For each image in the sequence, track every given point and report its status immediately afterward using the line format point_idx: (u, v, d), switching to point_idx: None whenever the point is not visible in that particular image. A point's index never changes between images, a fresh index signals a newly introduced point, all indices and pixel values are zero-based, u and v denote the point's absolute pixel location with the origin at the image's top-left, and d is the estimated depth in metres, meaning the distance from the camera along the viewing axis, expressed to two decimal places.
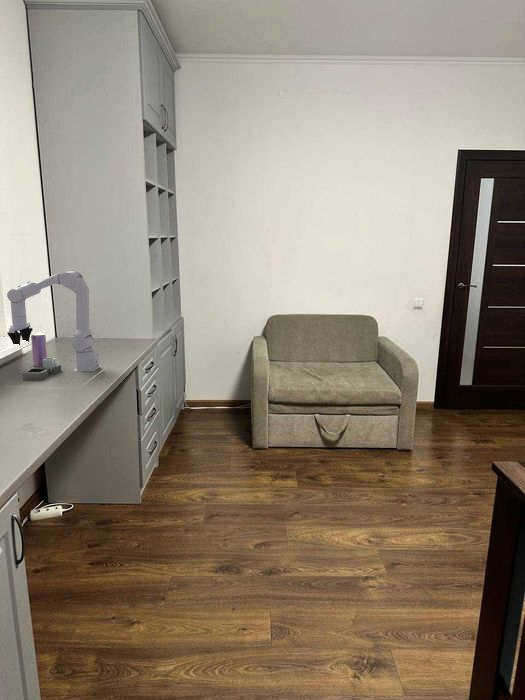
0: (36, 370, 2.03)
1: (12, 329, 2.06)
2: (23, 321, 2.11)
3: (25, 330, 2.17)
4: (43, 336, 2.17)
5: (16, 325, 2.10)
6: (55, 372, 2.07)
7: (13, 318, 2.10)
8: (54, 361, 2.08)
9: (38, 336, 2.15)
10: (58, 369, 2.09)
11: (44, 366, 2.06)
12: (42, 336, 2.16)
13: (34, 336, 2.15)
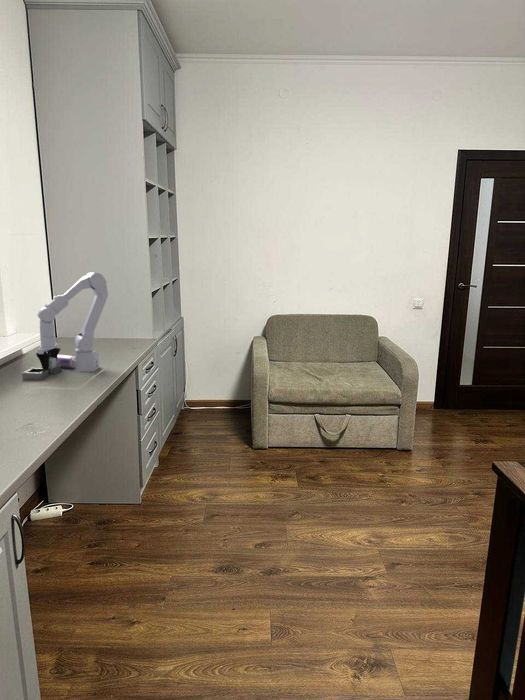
0: (36, 370, 2.03)
1: (41, 350, 1.99)
2: (52, 342, 2.05)
3: (53, 350, 2.10)
4: None
5: (45, 346, 2.03)
6: (55, 372, 2.07)
7: (42, 338, 2.03)
8: (54, 361, 2.08)
9: (71, 367, 2.15)
10: (58, 369, 2.09)
11: None
12: (72, 368, 2.16)
13: (70, 363, 2.14)
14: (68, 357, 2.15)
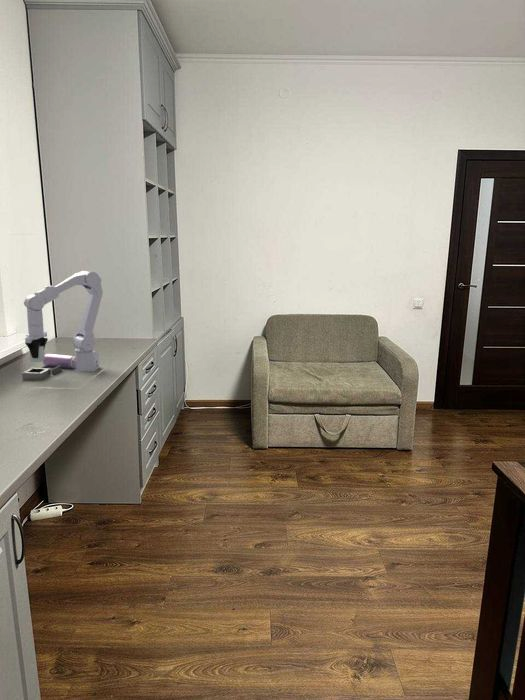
0: (36, 370, 2.03)
1: (28, 339, 1.92)
2: (40, 330, 1.97)
3: (40, 340, 2.02)
4: None
5: (32, 334, 1.96)
6: (55, 372, 2.07)
7: (29, 327, 1.96)
8: (41, 349, 2.00)
9: (71, 367, 2.15)
10: (58, 369, 2.09)
11: None
12: (72, 368, 2.16)
13: (70, 363, 2.14)
14: (68, 357, 2.15)
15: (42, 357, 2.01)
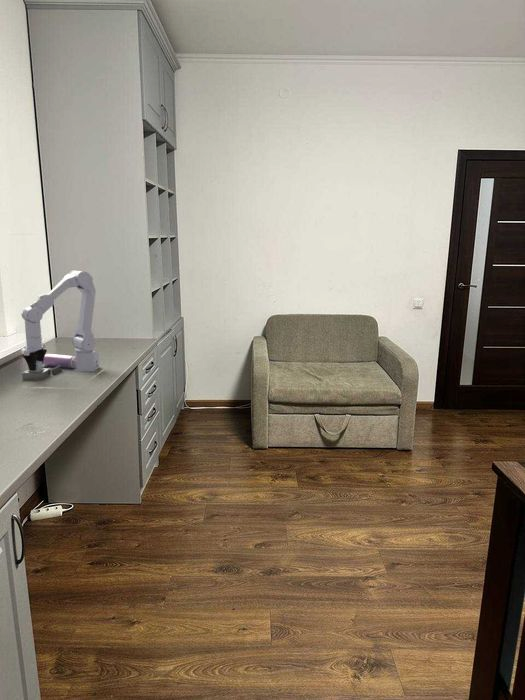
0: None
1: (27, 351, 1.91)
2: (39, 342, 1.97)
3: (39, 352, 2.02)
4: None
5: (31, 347, 1.95)
6: (55, 372, 2.07)
7: (27, 339, 1.95)
8: (40, 365, 2.00)
9: (71, 367, 2.15)
10: (58, 369, 2.09)
11: (29, 370, 1.98)
12: (72, 368, 2.16)
13: (70, 363, 2.14)
14: (68, 357, 2.15)
15: None
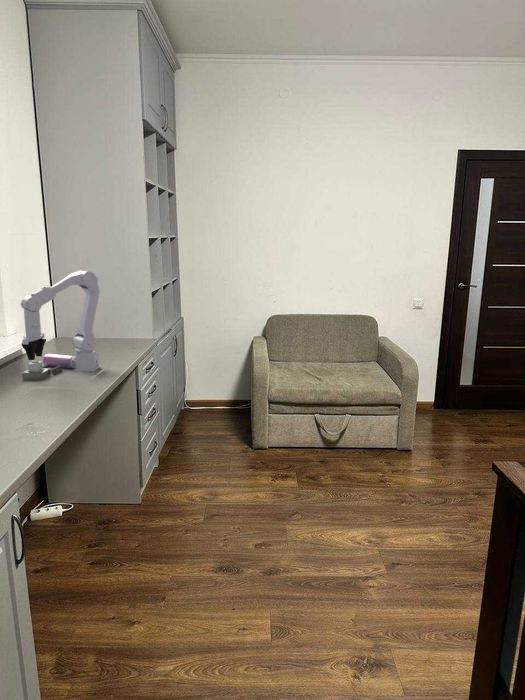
0: None
1: (26, 340, 1.90)
2: (38, 332, 1.96)
3: (38, 341, 2.01)
4: None
5: (30, 336, 1.94)
6: (55, 372, 2.07)
7: (27, 328, 1.94)
8: (40, 365, 2.00)
9: (71, 367, 2.15)
10: (58, 369, 2.09)
11: (29, 370, 1.98)
12: (72, 368, 2.16)
13: (70, 363, 2.14)
14: (68, 357, 2.15)
15: None
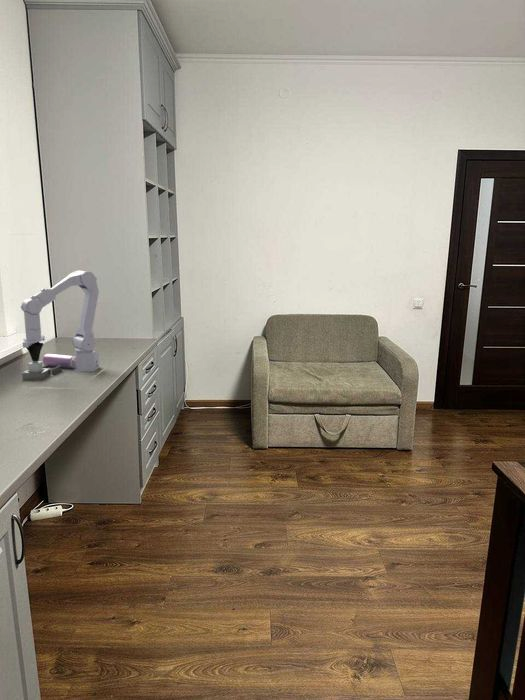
0: None
1: (26, 343, 1.91)
2: (38, 334, 1.96)
3: None
4: None
5: (30, 339, 1.95)
6: (55, 372, 2.07)
7: (27, 331, 1.94)
8: (40, 365, 2.00)
9: (71, 367, 2.15)
10: (58, 369, 2.09)
11: (29, 370, 1.98)
12: (72, 368, 2.16)
13: (70, 363, 2.14)
14: (68, 357, 2.15)
15: None
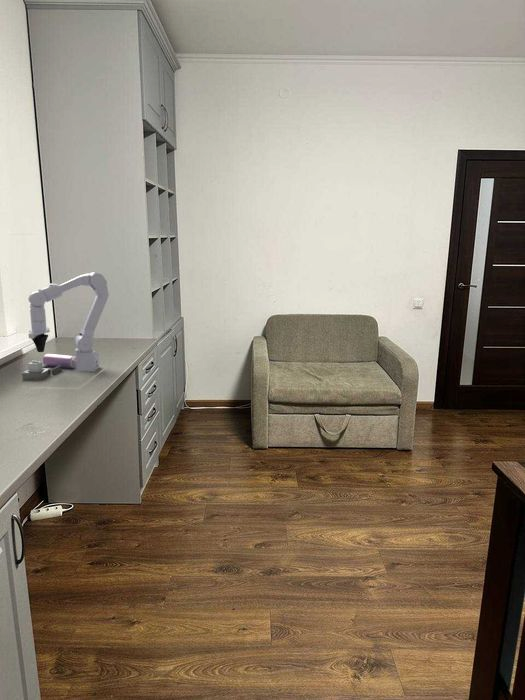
0: None
1: (32, 334, 1.97)
2: (43, 326, 2.02)
3: None
4: None
5: (35, 330, 2.01)
6: (55, 372, 2.07)
7: (32, 323, 2.01)
8: (40, 365, 2.00)
9: (71, 367, 2.15)
10: (58, 369, 2.09)
11: (29, 370, 1.98)
12: (72, 368, 2.16)
13: (70, 363, 2.14)
14: (68, 357, 2.15)
15: None
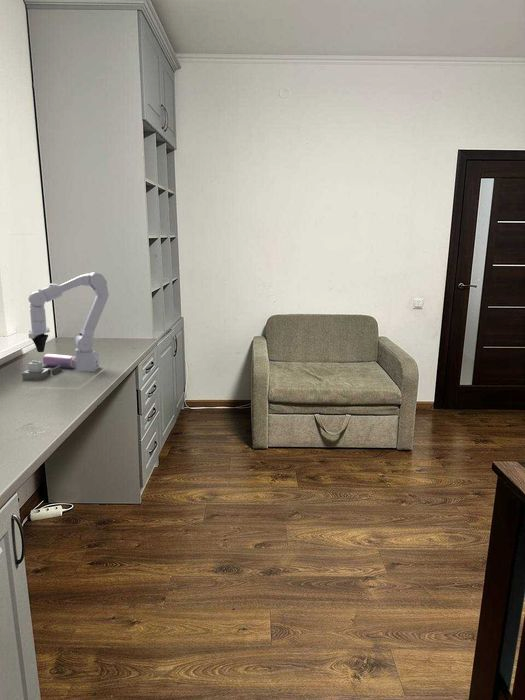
0: None
1: (32, 334, 1.97)
2: (43, 326, 2.02)
3: None
4: None
5: (35, 330, 2.01)
6: (55, 372, 2.07)
7: (32, 323, 2.01)
8: (40, 365, 2.00)
9: (71, 367, 2.15)
10: (58, 369, 2.09)
11: (29, 370, 1.98)
12: (72, 368, 2.16)
13: (70, 363, 2.14)
14: (68, 357, 2.15)
15: None
